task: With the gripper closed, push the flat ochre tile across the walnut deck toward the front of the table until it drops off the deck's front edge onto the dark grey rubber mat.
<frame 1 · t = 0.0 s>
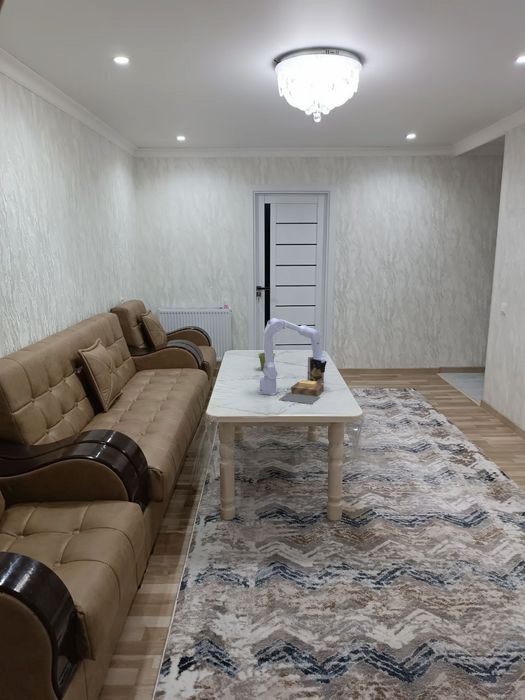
hand: (320, 371, 307), 11 cm above the table, tool pointing down, fingers open, 7 cm apart
deck: (307, 392, 301), on the table
mat: (299, 398, 290), on the table
coffee box: (315, 383, 321), on the table
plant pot: (266, 370, 353), on the table
tile: (308, 385, 301), point 4 cm above the table, touching deck
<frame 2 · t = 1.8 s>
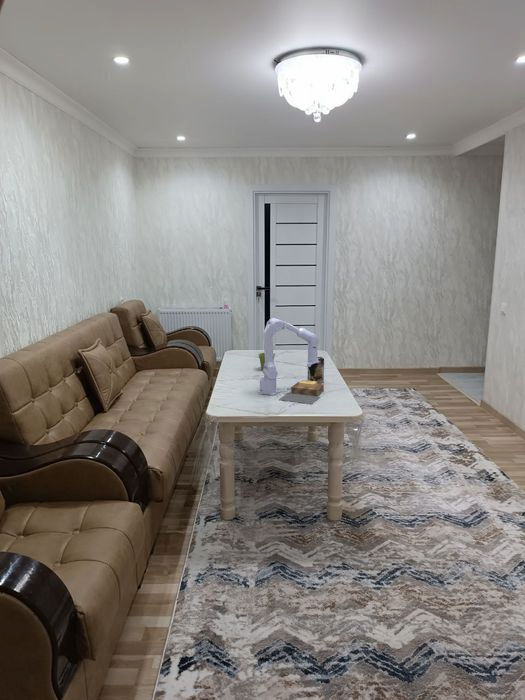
hand: (312, 375, 308), 8 cm above the table, tool pointing down, fingers closed
nothing on the table moved.
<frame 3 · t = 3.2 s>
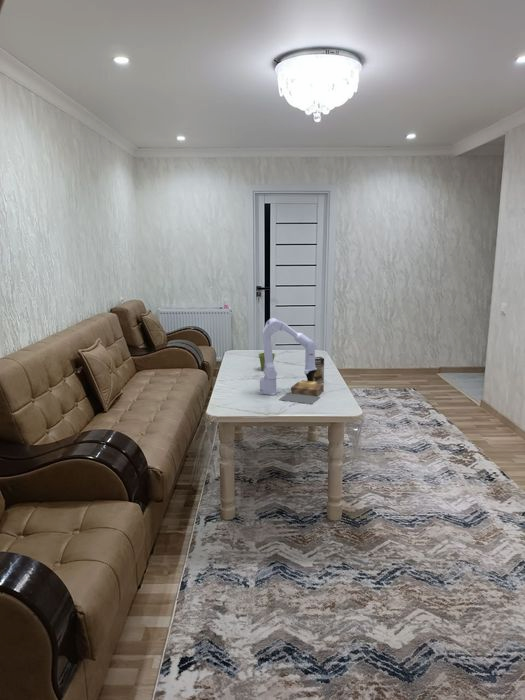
hand: (310, 382, 304), 5 cm above the table, tool pointing down, fingers closed
tile: (307, 385, 301), point 4 cm above the table, touching deck, gripper
everything else where it was.
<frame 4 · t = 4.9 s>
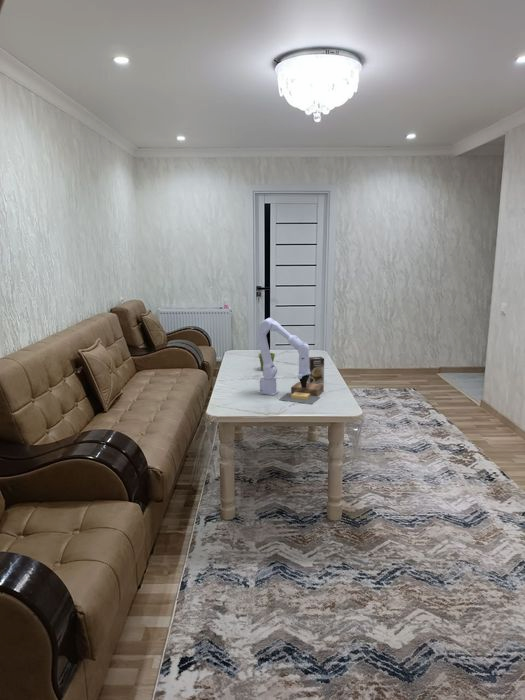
hand: (303, 387, 295), 5 cm above the table, tool pointing down, fingers closed
tile: (300, 394, 290), point 2 cm above the table, tilted 180°, touching mat
everything else where it was.
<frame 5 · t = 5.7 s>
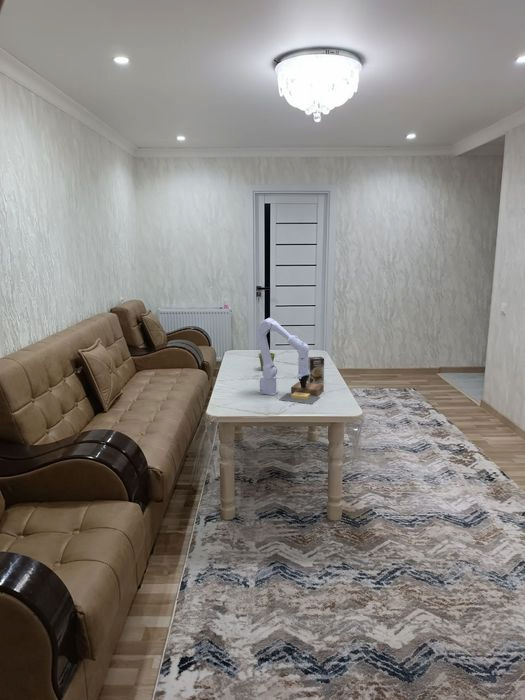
hand: (303, 387, 294), 5 cm above the table, tool pointing down, fingers closed
nothing on the table moved.
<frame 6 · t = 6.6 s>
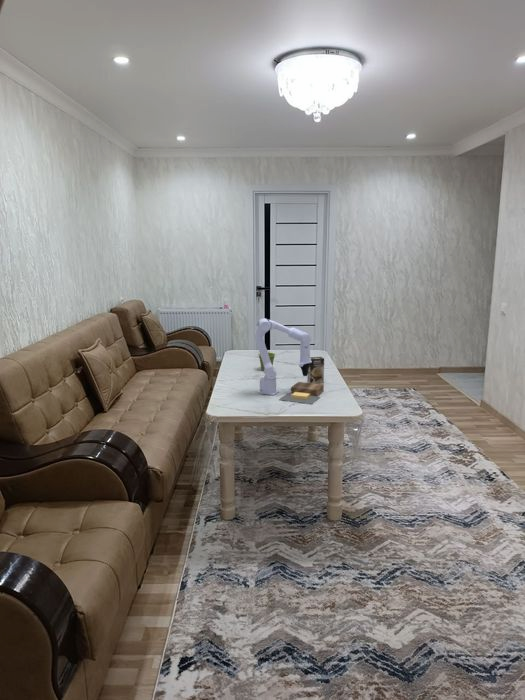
hand: (305, 375, 301), 9 cm above the table, tool pointing down, fingers closed
nothing on the table moved.
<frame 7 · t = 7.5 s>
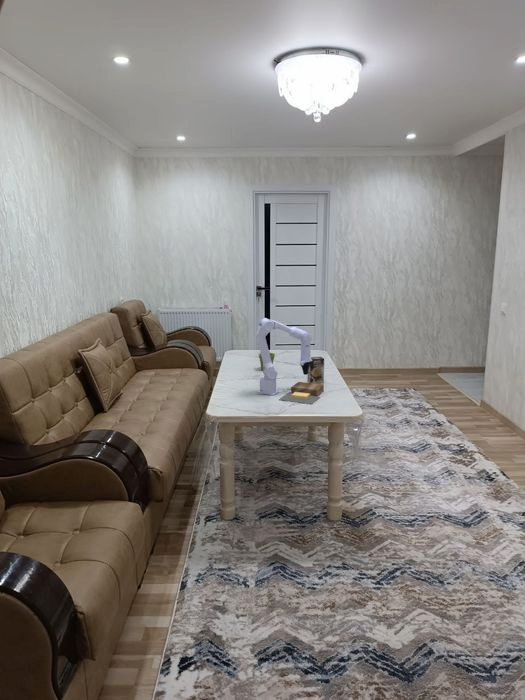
hand: (305, 374, 305), 9 cm above the table, tool pointing down, fingers closed
nothing on the table moved.
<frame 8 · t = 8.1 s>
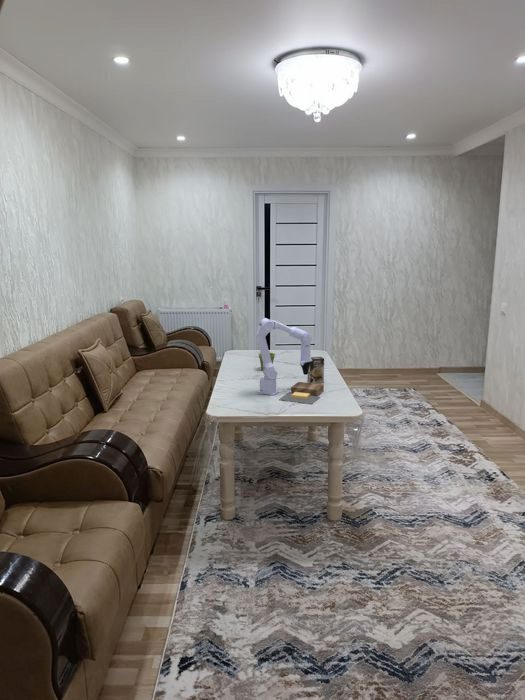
hand: (305, 374, 305), 9 cm above the table, tool pointing down, fingers closed
nothing on the table moved.
at the end: tile point 2.4 cm above the table; tile inside the target area (1.4 cm from its centre), point 2.4 cm above the table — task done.
